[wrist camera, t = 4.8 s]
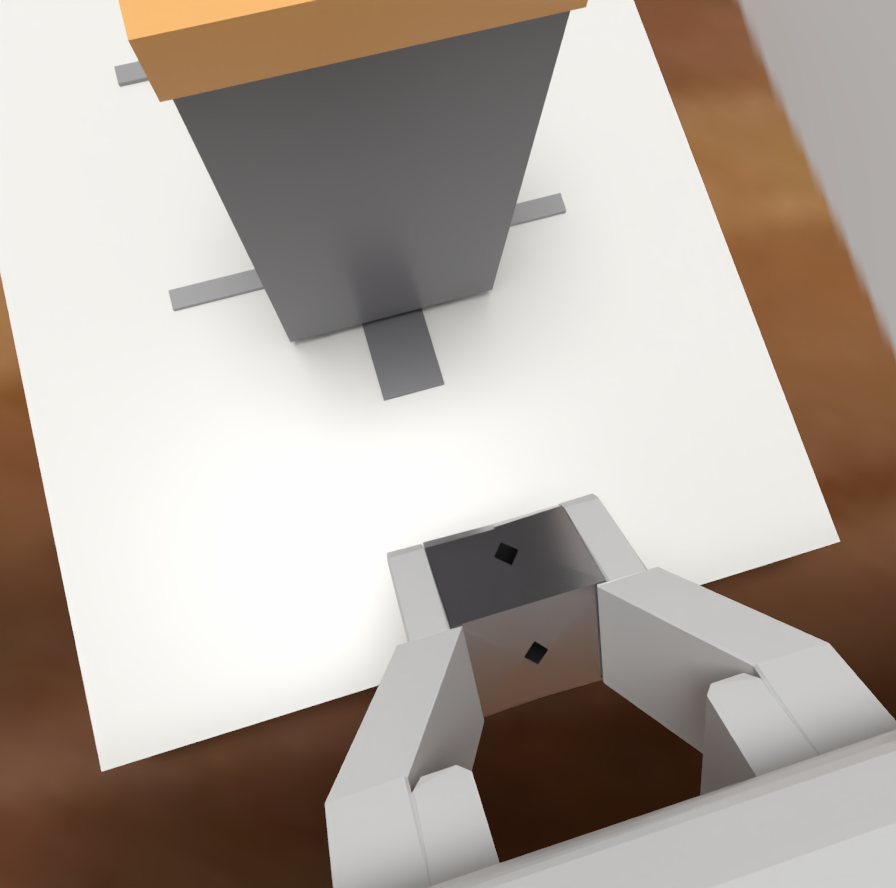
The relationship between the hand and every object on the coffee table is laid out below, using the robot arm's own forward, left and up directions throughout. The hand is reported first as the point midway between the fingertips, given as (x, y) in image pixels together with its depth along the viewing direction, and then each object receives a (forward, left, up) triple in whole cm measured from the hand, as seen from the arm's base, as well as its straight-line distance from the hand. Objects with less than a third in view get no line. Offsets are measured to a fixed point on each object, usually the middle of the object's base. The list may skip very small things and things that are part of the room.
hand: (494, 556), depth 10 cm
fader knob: (+6, 0, -3) cm, 7 cm away
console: (+12, 0, -5) cm, 14 cm away
